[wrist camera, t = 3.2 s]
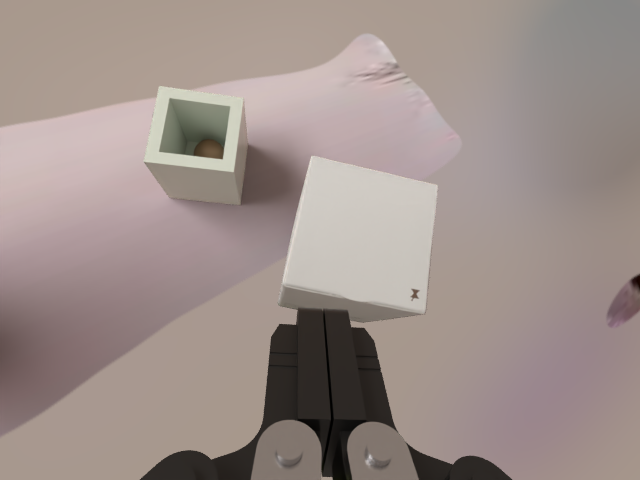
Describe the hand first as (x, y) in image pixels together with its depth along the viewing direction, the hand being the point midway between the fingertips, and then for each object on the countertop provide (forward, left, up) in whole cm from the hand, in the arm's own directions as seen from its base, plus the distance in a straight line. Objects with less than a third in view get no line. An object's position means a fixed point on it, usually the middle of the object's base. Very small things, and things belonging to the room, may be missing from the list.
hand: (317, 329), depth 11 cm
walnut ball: (+16, +9, -23) cm, 30 cm away
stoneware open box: (+16, +9, -24) cm, 30 cm away
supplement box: (+6, -4, -24) cm, 26 cm away
